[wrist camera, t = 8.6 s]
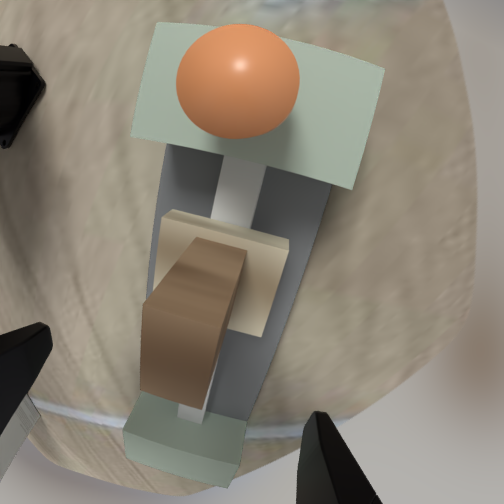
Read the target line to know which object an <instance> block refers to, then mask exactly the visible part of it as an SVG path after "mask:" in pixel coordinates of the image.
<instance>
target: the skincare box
mask: <svg viewBox="0 0 504 504" xmlns="http://www.w3.org/2000/svg"><path fill="white" fill-rule="evenodd" d="M39 417H40V414H39V413H38V411H37V410H36V408H35V407H34V405H33V403H32V402H31V400H30V398H29V397H28V395H27V394H26V396H25V397H24V399H23V400H22V402H21V403H20V405H19V407H18V408H17V410H16V411H15V413H14V415H13V416H12V418H11V419H10V421H9V423H8V424H7V426H6V428H5V429H4V431H3V433H2V434H1V436H0V481H1V479H2V478H3V476H4V474H5V472H6V471H7V469H8V467H9V466H10V464H11V462H12V460H13V459H14V457H15V455H16V454H17V452H18V450H19V449H20V447H21V446H22V444H23V442H24V440H25V439H26V437H27V436H28V434H29V433H30V431H31V430H32V428H33V426H34V425H35V423H36V422H37V420H38V419H39Z"/></svg>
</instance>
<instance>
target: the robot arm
mask: <svg viewBox="0 0 504 504" xmlns="http://www.w3.org/2000/svg"><path fill="white" fill-rule="evenodd" d="M38 84H39V86H38ZM44 85H45V82H44V80H43V79H42V77H41V76H40V75H39V73H38V72H37V71H36V70H35V68H34V67H33V62H32V61H31V60H30V59H29V57H28V56H27V55H26V53H25V52H24V51H23V50H22V48H18V46H17V45H16V44H10V45H9V46H1V45H0V145H1V147H2V148H3V149H7V148H9V147H10V146H11V144H12V142H13V140H14V138H15V136H16V134H17V132H18V130H19V128H20V127H21V125H22V123H23V121H24V119H25V118H26V116H27V114H28V113H29V111H30V109H31V108H32V106H33V104H34V103H35V101H36V99H37V98H38V96H39V95H40V93H41V91H42V90H43V88H44ZM52 347H53V342H52V336H51V331H50V328H49V326H48V325H46V324H44V323H41V322H37V323H34V324H32V325H29V326H26V327H23V328H20V329H17V330H14V331H11V332H8V333H5V334H2V335H0V436H1V434H2V433H3V431H4V429H5V428H6V426H7V424H8V423H9V421H10V419H11V418H12V416H13V415H14V413H15V411H16V410H17V408H18V407H19V405H20V403H21V402H22V400H23V399H24V397H25V396H26V394H27V393H28V391H29V390H30V388H31V387H32V385H33V383H34V382H35V380H36V378H37V376H38V374H39V372H40V371H41V369H42V367H43V365H44V363H45V361H46V359H47V358H48V356H49V354H50V352H51V350H52ZM296 494H297V495H296V504H383V503H382V502H381V500H380V498H379V497H378V495H376V492H375V491H374V489H373V487H372V486H371V484H370V482H369V481H368V479H367V478H366V476H365V474H364V473H363V471H362V469H361V468H360V466H359V465H358V463H357V461H356V460H355V458H354V456H353V455H352V453H351V452H350V450H349V448H348V447H347V445H346V443H345V442H344V440H343V439H342V437H341V435H340V433H339V432H338V430H337V428H336V427H335V425H334V423H333V422H332V420H331V418H330V417H329V415H328V414H327V413H326V412H320V411H314V412H313V413H312V415H311V416H310V418H309V420H308V421H307V423H306V424H305V426H304V430H303V436H302V443H301V450H300V456H299V463H298V470H297V493H296Z"/></svg>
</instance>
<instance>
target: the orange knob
mask: <svg viewBox="0 0 504 504" xmlns="http://www.w3.org/2000/svg"><path fill="white" fill-rule="evenodd" d="M299 85H300V75H299V68H298V64H297V61H296V59H295V56H294V55H293V53H292V51H291V50H290V48H289V47H288V46H287V44H286V43H285V42H284V41H283V40H282V39H281V38H279V37H278V36H277V35H275V34H274V33H272V32H270V31H268V30H266V29H264V28H261V27H258V26H254V25H248V24H232V25H226V26H222V27H219V28H216V29H214V30H211V31H209V32H207V33H206V34H204V35H203V36H201V37H200V38H198V39H197V40H196V41H195V42H194V43H193V44H192V45H191V46H190V47H189V49H188V50H187V51H186V53H185V54H184V56H183V58H182V60H181V62H180V64H179V67H178V71H177V76H176V91H177V96H178V100H179V103H180V105H181V107H182V109H183V111H184V113H185V114H186V115H187V117H188V118H189V119H190V120H191V121H192V122H193V123H194V124H195V125H196V126H198V127H199V128H200V129H202V130H204V131H205V132H207V133H209V134H212V135H214V136H218V137H221V138H228V139H243V138H250V137H255V136H259V135H263V134H266V133H268V132H270V131H272V130H274V129H275V128H277V127H278V126H280V125H281V124H282V123H283V122H284V121H285V120H286V119H287V118H288V116H289V115H290V113H291V112H292V110H293V108H294V105H295V102H296V99H297V95H298V91H299Z"/></svg>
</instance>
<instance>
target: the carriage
mask: <svg viewBox="0 0 504 504" xmlns="http://www.w3.org/2000/svg"><path fill="white" fill-rule="evenodd" d="M288 252H289V239H286V238H282V237H278V236H275V235H271V234H267V233H263V232H260V231H256V230H252V229H248V228H245V227H241V226H237V225H233V224H229V223H226V222H222V221H218V220H214V219H210V218H206V217H202V216H198V215H194V214H191V213H187V212H183V211H179V210H175V209H172V210H171V211H169V212H168V213H166V214H165V215H164V216H162V218H161V225H160V233H159V240H158V248H157V257H156V265H155V275H154V284H153V292H152V293H151V294H150V296H149V297H148V298H147V300H146V301H145V302H144V304H143V310H142V329H141V357H140V390H141V391H144V392H147V393H149V394H152V395H155V396H158V397H161V398H164V399H167V400H170V401H173V402H176V403H180V404H183V405H186V406H189V407H193V408H196V409H200V410H202V408H203V405H204V402H205V399H206V395H207V392H208V389H209V386H210V382H211V379H212V376H213V372H214V369H215V366H216V363H217V359H218V356H219V353H220V350H221V346H222V343H223V340H224V337H225V333H226V330H227V328H228V329H231V330H235V331H239V332H242V333H246V334H250V335H254V336H258V337H261V336H262V333H263V330H264V327H265V324H266V321H267V318H268V315H269V312H270V309H271V306H272V303H273V300H274V297H275V294H276V291H277V287H278V284H279V281H280V278H281V275H282V272H283V268H284V265H285V262H286V259H287V256H288Z"/></svg>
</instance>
